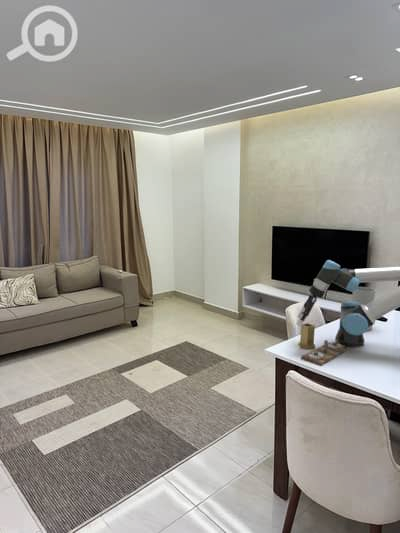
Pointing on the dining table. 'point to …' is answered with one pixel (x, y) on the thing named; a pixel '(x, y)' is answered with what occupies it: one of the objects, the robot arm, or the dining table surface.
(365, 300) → the cylinder vase
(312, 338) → the yellow tan stepped cylinder
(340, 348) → the board
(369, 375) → the dining table surface
